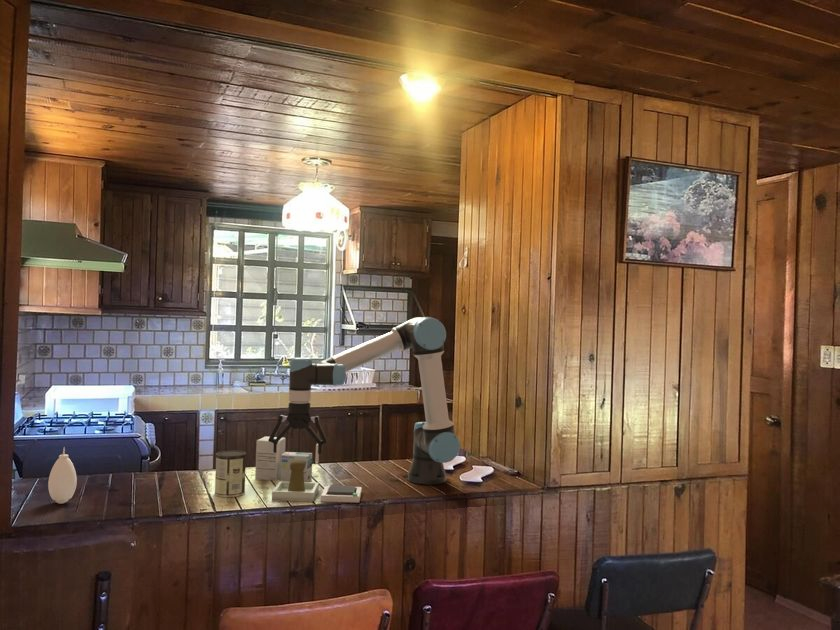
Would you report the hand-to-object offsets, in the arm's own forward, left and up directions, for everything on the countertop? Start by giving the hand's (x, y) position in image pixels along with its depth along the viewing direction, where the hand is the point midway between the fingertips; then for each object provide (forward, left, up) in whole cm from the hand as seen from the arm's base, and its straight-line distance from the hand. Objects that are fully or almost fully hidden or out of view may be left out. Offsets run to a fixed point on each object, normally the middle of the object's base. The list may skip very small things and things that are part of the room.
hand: (297, 462), depth 229 cm
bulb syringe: (+72, +17, -12) cm, 75 cm away
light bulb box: (+3, -19, -12) cm, 23 cm away
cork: (0, 0, -11) cm, 11 cm away
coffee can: (+23, 0, -12) cm, 26 cm away
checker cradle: (-16, 0, -11) cm, 20 cm away
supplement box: (+14, -25, -12) cm, 31 cm away
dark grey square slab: (-16, 0, -10) cm, 19 cm away
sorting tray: (0, 0, -11) cm, 11 cm away
